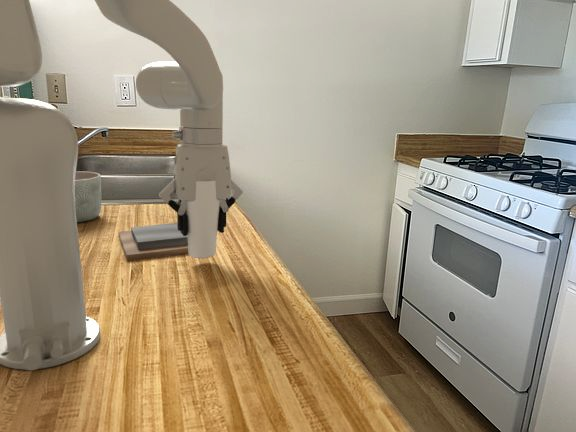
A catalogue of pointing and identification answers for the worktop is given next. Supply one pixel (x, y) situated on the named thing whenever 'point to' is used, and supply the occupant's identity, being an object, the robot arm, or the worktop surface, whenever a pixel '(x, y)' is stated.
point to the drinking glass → (203, 221)
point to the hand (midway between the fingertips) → (202, 231)
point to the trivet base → (147, 252)
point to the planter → (87, 195)
